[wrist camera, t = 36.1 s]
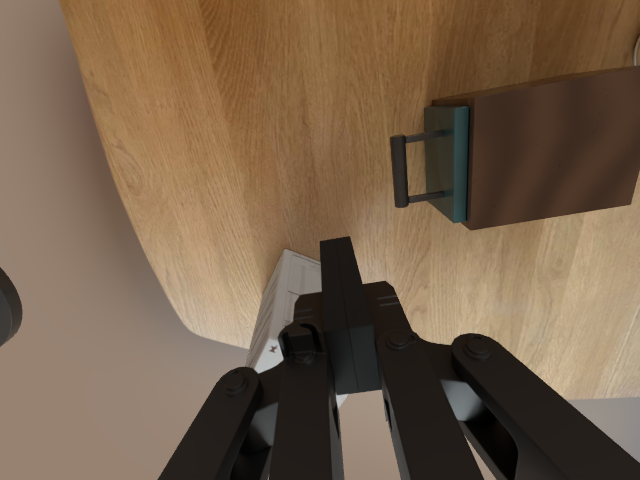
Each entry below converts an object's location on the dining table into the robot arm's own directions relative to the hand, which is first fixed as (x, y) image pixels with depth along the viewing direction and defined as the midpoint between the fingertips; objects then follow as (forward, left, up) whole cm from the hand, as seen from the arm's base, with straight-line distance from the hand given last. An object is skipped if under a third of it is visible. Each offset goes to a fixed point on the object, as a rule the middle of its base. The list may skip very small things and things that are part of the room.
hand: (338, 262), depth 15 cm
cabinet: (+20, 0, -22) cm, 30 cm away
